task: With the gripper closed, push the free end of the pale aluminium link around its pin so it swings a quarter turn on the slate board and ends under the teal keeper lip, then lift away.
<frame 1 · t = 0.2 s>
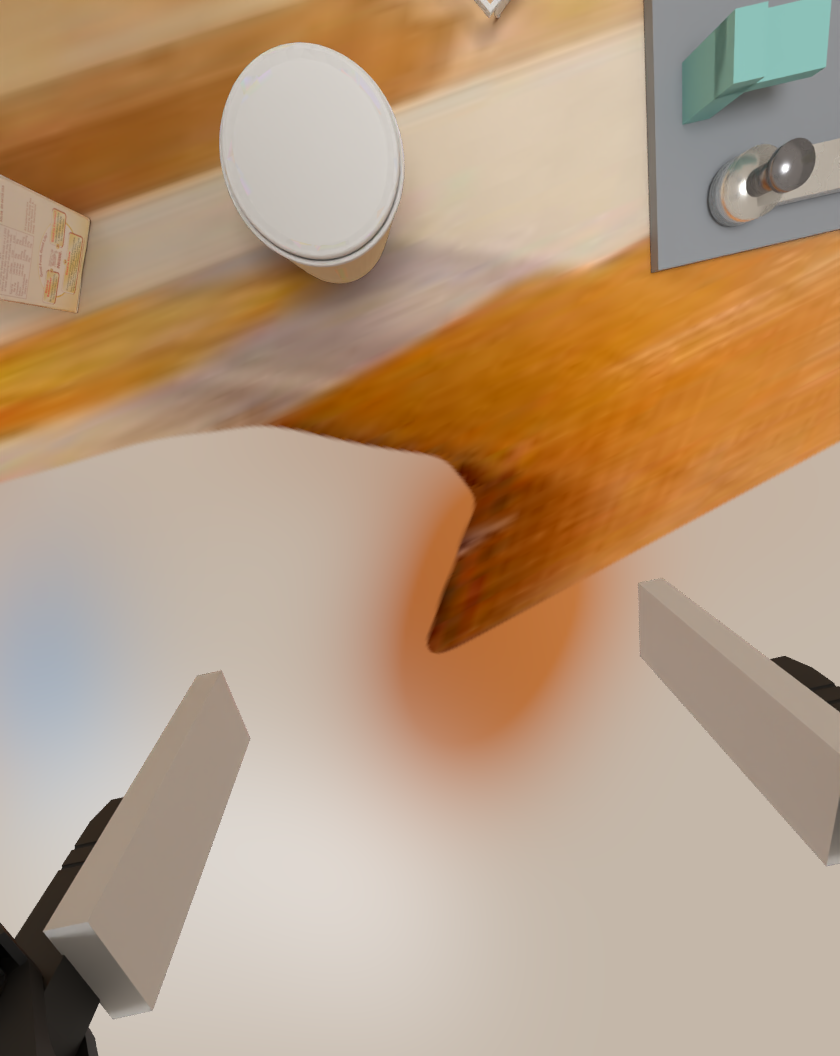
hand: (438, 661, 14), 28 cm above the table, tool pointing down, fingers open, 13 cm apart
coffee cup: (335, 227, 34), on the table
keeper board: (801, 68, 32), on the table
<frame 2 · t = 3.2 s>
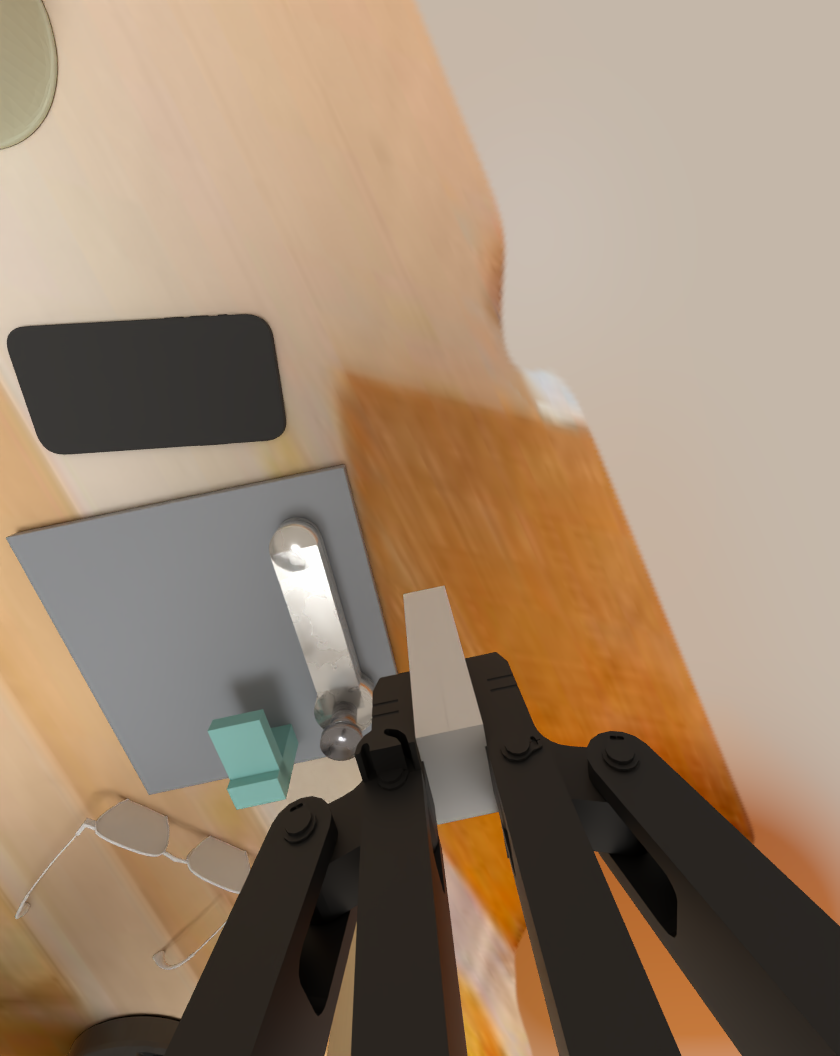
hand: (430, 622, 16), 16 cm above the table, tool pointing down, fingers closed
coffee cup: (381, 922, 46), on the table
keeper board: (238, 642, 34), on the table
link: (321, 645, 30), point 4 cm above the table, hinge at 0.0°
eyeglasses: (142, 875, 42), on the table
phone: (159, 386, 28), on the table
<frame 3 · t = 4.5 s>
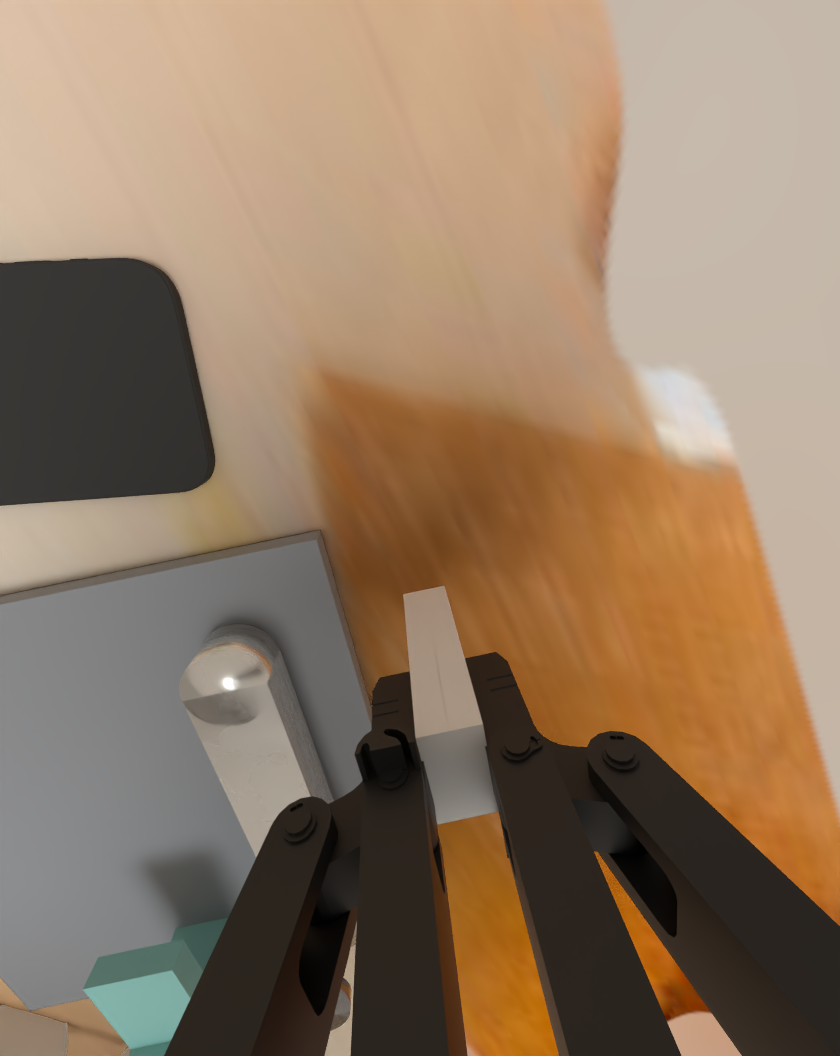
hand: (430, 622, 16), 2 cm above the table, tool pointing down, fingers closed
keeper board: (156, 800, 21), on the table
link: (280, 840, 17), point 4 cm above the table, hinge at 0.0°
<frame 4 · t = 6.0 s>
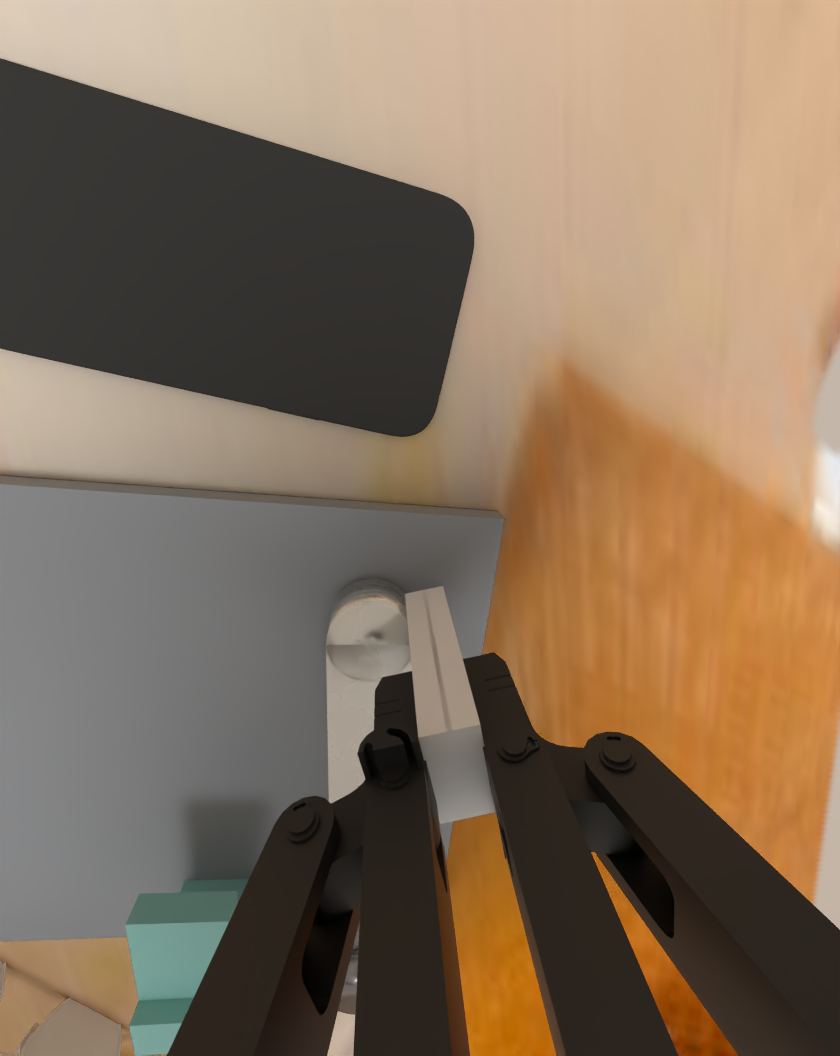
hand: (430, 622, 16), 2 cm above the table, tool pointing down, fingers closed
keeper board: (216, 740, 20), on the table
link: (367, 807, 17), point 4 cm above the table, hinge at 2.6°, touching gripper
phone: (227, 278, 14), on the table
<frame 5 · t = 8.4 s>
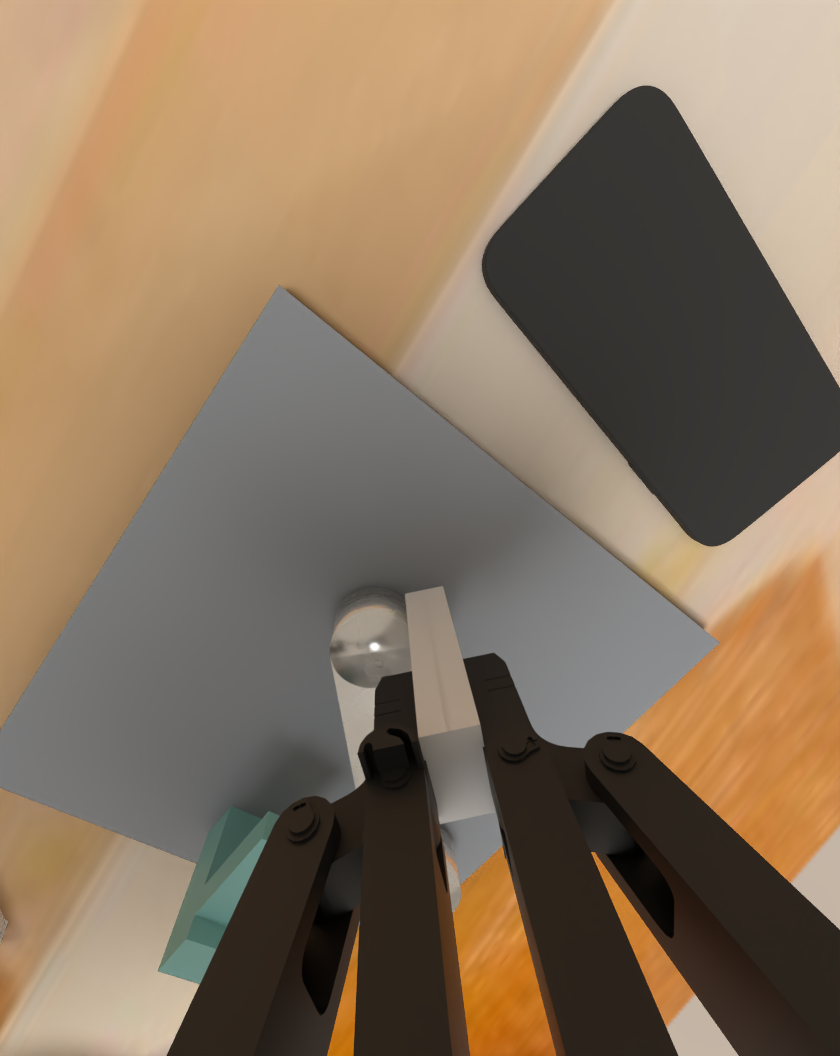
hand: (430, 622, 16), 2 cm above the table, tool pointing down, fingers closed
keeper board: (357, 691, 20), on the table
link: (396, 809, 17), point 4 cm above the table, hinge at 43.5°, touching gripper
phone: (669, 355, 17), on the table
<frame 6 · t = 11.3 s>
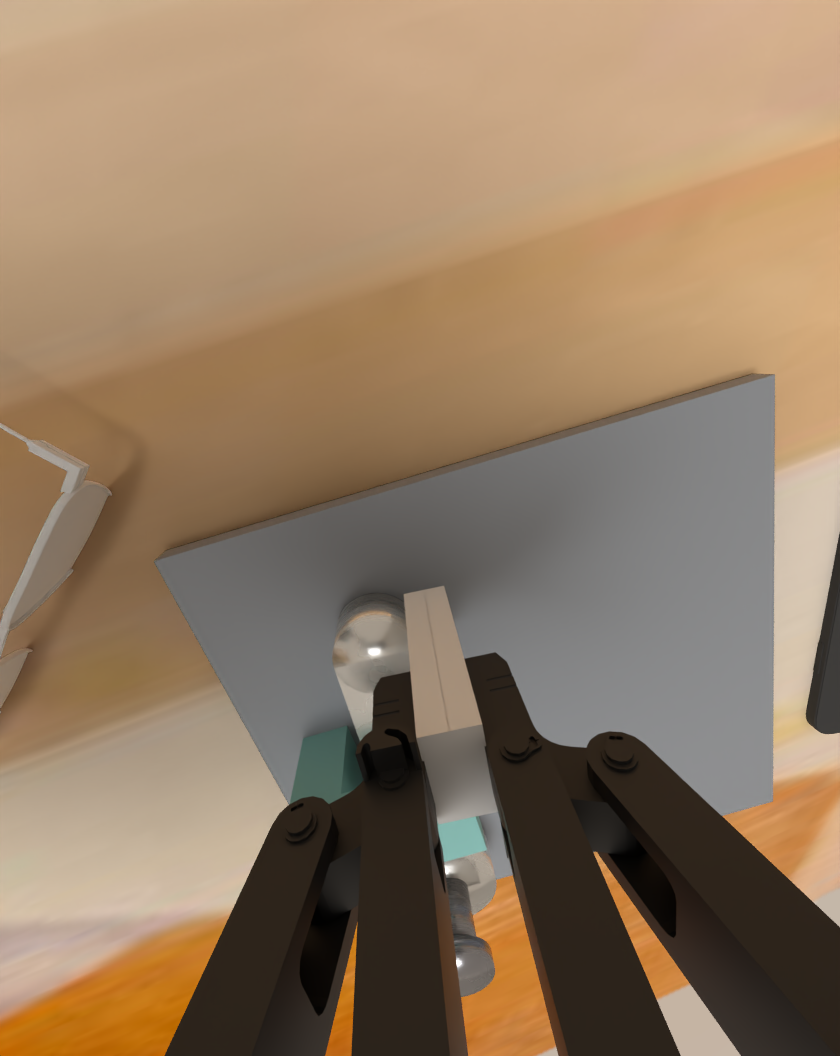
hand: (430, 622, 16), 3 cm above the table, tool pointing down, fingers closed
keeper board: (514, 688, 21), on the table
link: (419, 807, 18), point 4 cm above the table, hinge at 86.6°, touching gripper
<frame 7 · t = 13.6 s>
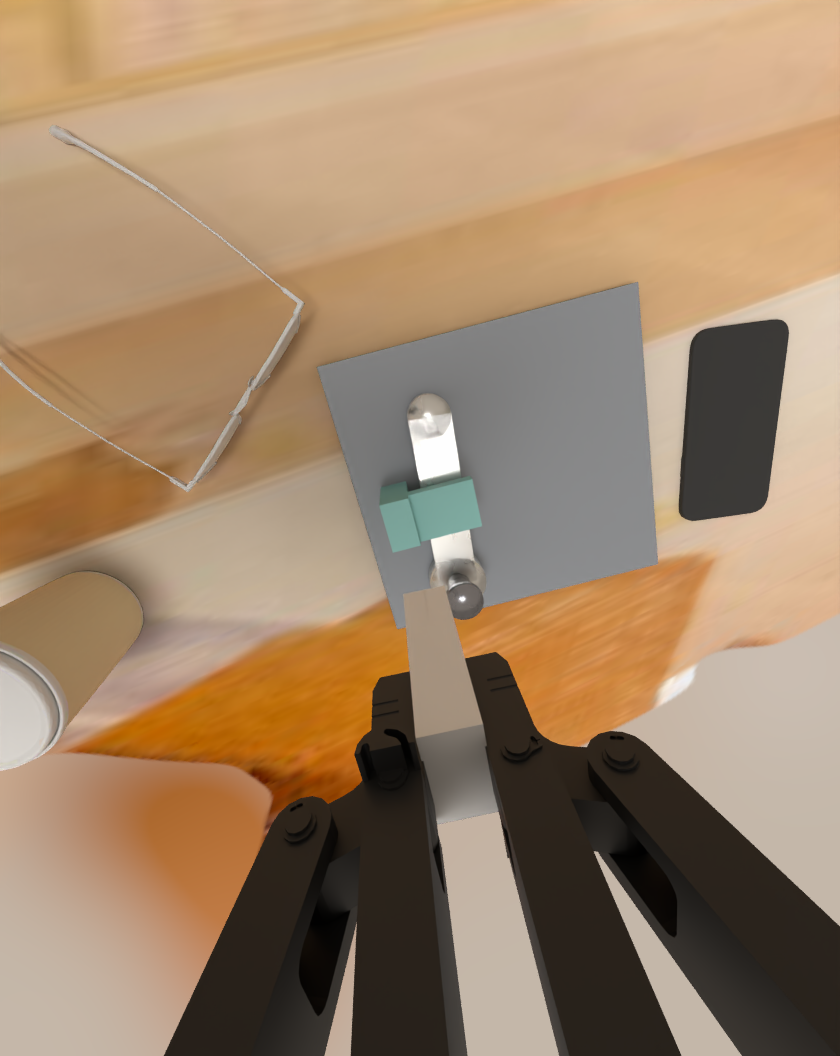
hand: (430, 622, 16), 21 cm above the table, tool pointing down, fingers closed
coffee cup: (97, 610, 38), on the table
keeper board: (501, 472, 36), on the table
link: (446, 512, 33), point 4 cm above the table, hinge at 86.6°
eyeglasses: (146, 321, 31), on the table
phone: (724, 425, 36), on the table
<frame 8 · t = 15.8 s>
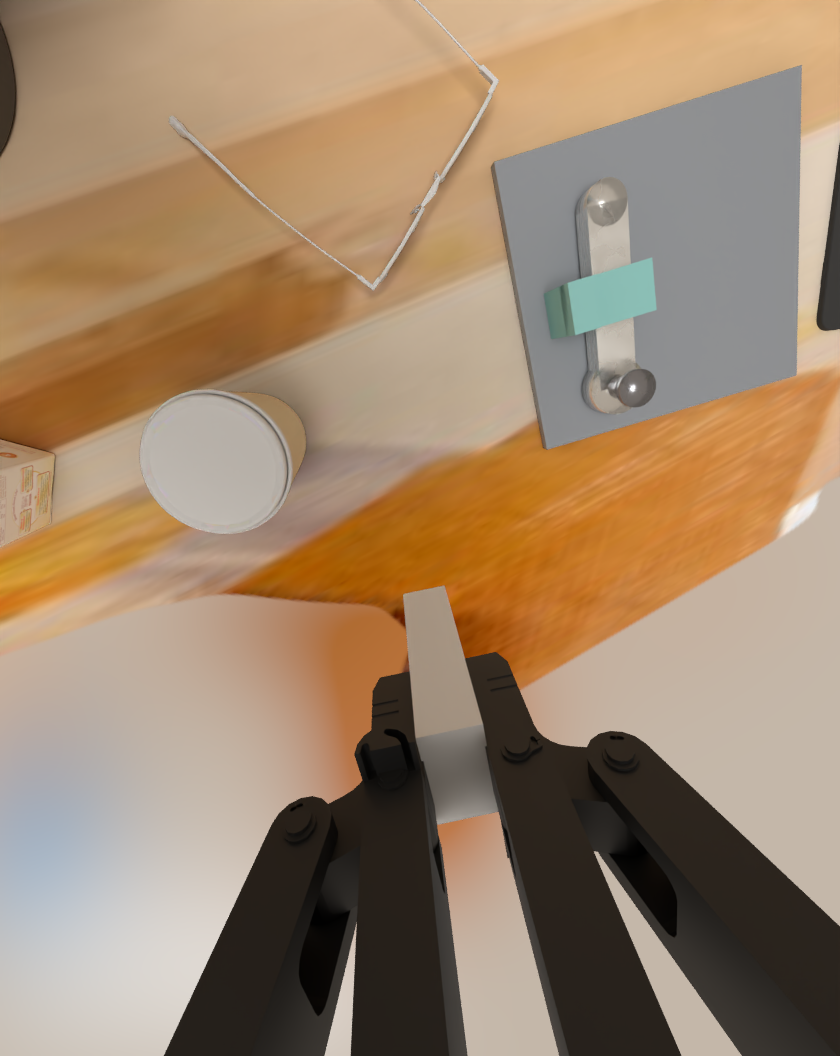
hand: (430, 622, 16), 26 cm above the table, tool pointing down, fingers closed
coffee cup: (262, 438, 39), on the table
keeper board: (653, 281, 37), on the table
link: (616, 304, 34), point 4 cm above the table, hinge at 86.6°
eyeglasses: (330, 124, 33), on the table
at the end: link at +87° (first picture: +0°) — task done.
